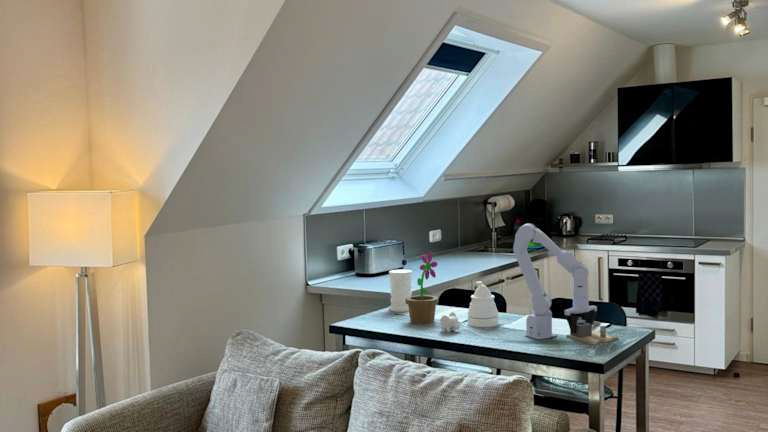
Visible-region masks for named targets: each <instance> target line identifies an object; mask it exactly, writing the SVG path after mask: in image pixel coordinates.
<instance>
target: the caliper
mask: <svg viewBox="0 0 768 432" xmlns="http://www.w3.org/2000/svg"><path fill="white" fill-rule="evenodd" d="M577 322H585V319H582V317H580V316H578V320H577ZM598 324H599V325H601V322H600V321H596V320H594V322H593V325H592V326H598Z"/></svg>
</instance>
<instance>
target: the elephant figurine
mask: <svg viewBox="0 0 768 432" xmlns="http://www.w3.org/2000/svg"><path fill="white" fill-rule="evenodd" d="M448 315H449V316H447V315H442V316H441V317H440V319H439V322H440V329H441V332H443V333H451V332H453V331H458V330H459V329H460V328H461V327H463V324H461V323H460V322H459V319H458V317H457V315H456V313H455V312H453V311H452V312H450V313H449V314H448ZM460 326H461V327H460Z"/></svg>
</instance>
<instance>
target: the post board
mask: <svg viewBox="0 0 768 432" xmlns="http://www.w3.org/2000/svg"><path fill="white" fill-rule="evenodd" d="M567 337H568V338H567ZM566 338H567V339H570V338H572V339H571V340H574V339H575V340H574V341H577V340H578V341H577V342H581V343H584V342H585V344H588V345H595V344H601V343H606V342H612V341H618V340H619V339H620V338H619V336H616V335H613V334H609V333H607V326H606V325H600V331H598V330H596V329H595V330H593V329H592V336H588V337H582V338H580V337H576V336H573V335H570V333H569V334H566Z"/></svg>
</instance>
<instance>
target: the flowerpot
mask: <svg viewBox="0 0 768 432" xmlns="http://www.w3.org/2000/svg"><path fill="white" fill-rule="evenodd" d="M420 257H421V261H422V262H423V263H424V264H421V265H420V266H419V270H421V271H422V272H421V273H422V274H421V278H417V281H416V282H417V285H418V286H419V287H420V295H411V296H409V297H406V299H405V302H406V304H408V307H409V311H408V313H409V319H410V323H412V324H414V325H415V324H416V325H427V324H429V325H430V324H433V323H434V322H435V316H436V306H437V304H439V301H440V300H439V297H438V296H436V295H428V293H429V291H428V290H427V289H426V288H425V287H424V277H425V280H428V279H429V278H430V276H431V277H432V278H436V277H437V275H436V272H435V270H434V269H433V268H435V267H438V262H437V261H433V254H432V252H431V251H429V252H428V254H427V256H426V255H424V254H421V256H420ZM426 293H427V295H426ZM424 294H425V295H424Z"/></svg>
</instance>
